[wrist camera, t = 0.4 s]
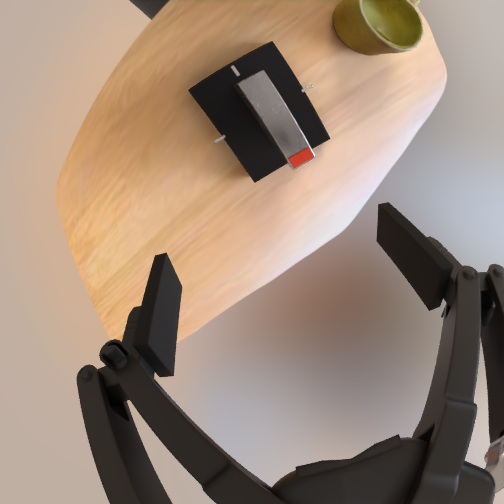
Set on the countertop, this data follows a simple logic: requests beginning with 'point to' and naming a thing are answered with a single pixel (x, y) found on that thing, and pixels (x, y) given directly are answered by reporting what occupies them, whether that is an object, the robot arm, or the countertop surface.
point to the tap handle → (275, 118)
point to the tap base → (240, 117)
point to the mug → (378, 25)
